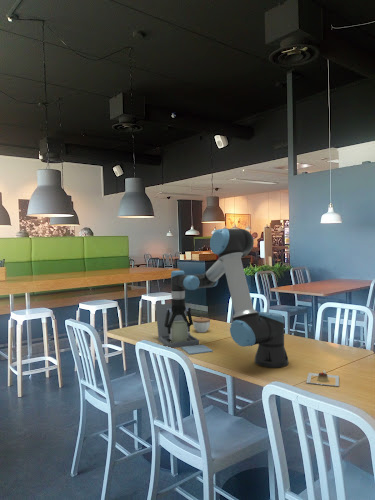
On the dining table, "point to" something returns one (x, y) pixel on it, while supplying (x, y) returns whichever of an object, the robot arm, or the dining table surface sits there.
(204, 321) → the lidded jar
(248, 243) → the robot arm
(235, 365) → the dining table surface
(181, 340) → the can
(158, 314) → the case
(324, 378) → the dessert
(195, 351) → the mat
